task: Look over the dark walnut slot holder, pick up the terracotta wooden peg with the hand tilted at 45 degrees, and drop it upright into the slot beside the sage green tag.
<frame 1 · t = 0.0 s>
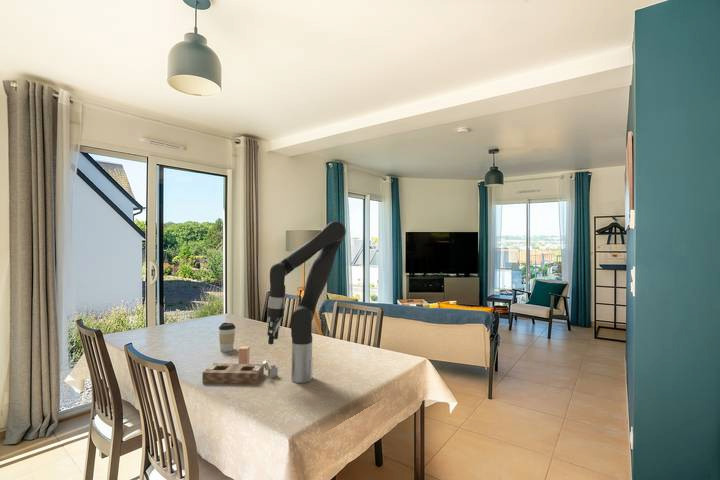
hand: (273, 341, 169), 17 cm above the table, tool pointing down, fingers open, 8 cm apart
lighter: (269, 377, 171), on the table
peg: (243, 367, 183), on the table
slot holder: (234, 378, 169), on the table
coffee cup: (226, 350, 211), on the table
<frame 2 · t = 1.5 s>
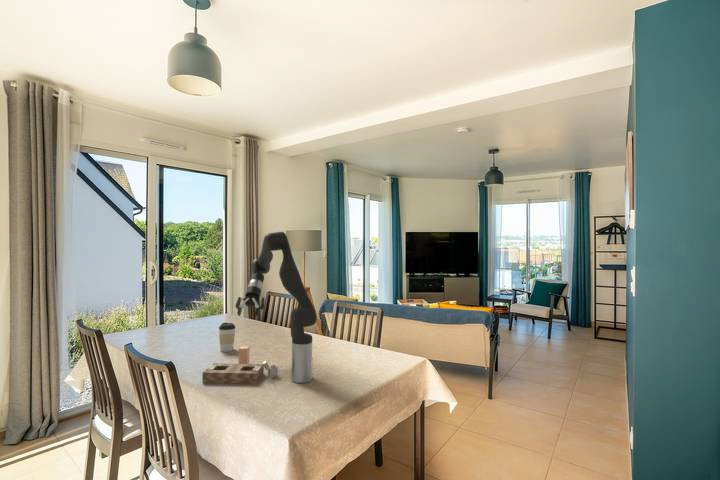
hand: (247, 315, 187), 25 cm above the table, tool tilted 45°, fingers open, 8 cm apart
nothing on the table moved.
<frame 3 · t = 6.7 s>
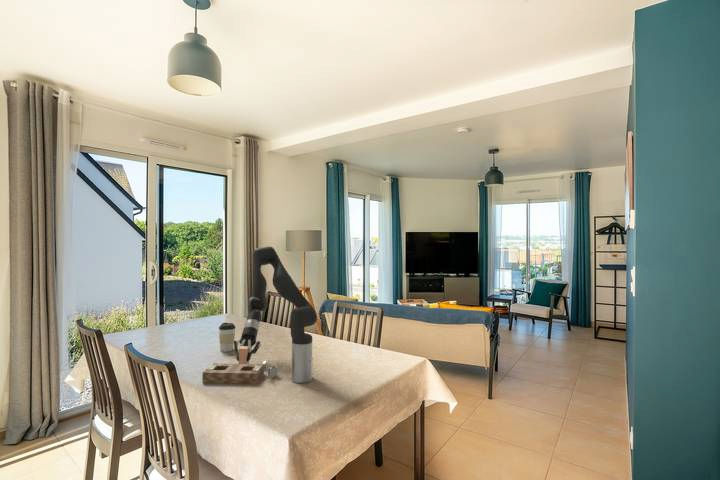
hand: (242, 360, 181), 4 cm above the table, tool tilted 45°, fingers closed on peg, 4 cm apart
peg: (243, 367, 183), on the table, touching gripper
everything else where it was.
when the fingers open (6 cm above the table, at t = 13.1 s): peg stays where it is, resting on slot holder.
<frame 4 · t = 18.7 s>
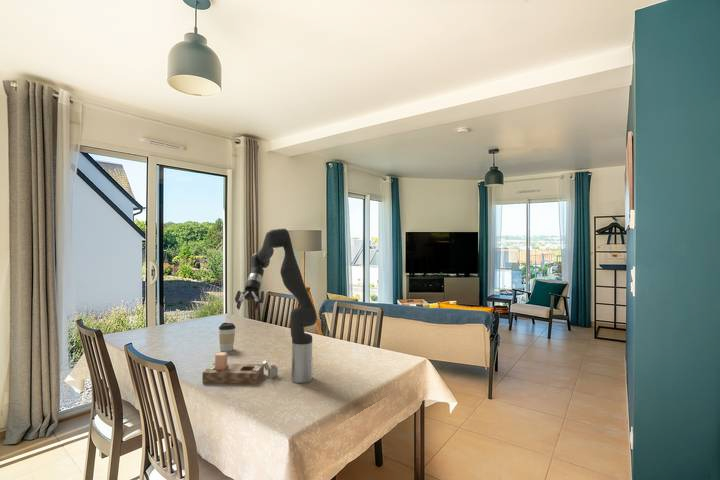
hand: (246, 308, 185), 29 cm above the table, tool tilted 45°, fingers open, 8 cm apart
peg: (221, 375, 169), point 1 cm above the table, touching slot holder
everything else where it was.
at the end: peg 0.1 cm from the target spot on the slot holder, point 1.0 cm above the slot holder's base; peg tilted 0°; the gripper is holding nothing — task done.
